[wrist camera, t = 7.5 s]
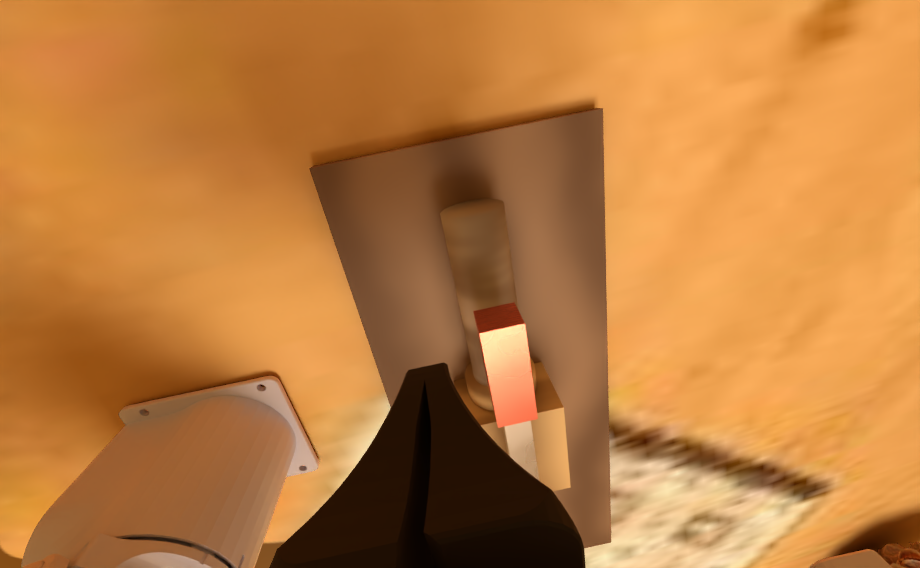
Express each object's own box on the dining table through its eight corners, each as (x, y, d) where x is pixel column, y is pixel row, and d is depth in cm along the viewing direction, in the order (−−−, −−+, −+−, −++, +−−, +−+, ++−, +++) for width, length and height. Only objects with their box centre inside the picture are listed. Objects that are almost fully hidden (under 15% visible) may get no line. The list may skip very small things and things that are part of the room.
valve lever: (537, 472, 22) (550, 509, 20) (506, 478, 22) (515, 517, 20) (511, 297, 17) (525, 323, 15) (471, 306, 17) (479, 333, 15)
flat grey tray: (448, 567, 33) (453, 637, 29) (313, 165, 19) (282, 184, 14) (606, 532, 33) (635, 596, 29) (595, 108, 19) (649, 108, 14)
